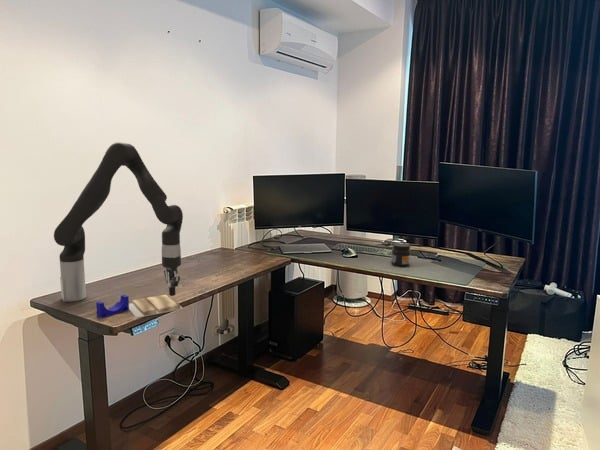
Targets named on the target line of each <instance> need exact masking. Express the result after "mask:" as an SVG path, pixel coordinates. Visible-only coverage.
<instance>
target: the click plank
mask: <svg viewBox="0 0 600 450" xmlns="http://www.w3.org/2000/svg"><path fill="white" fill-rule="evenodd" d="M145 299H146V300H147V301H148V302H149V303H150V304H151V305H152V306H153V307H155V308H156V311H157V312H158V313H159V312H165V311H170V310H175V309H180V306H181V304H180V303H179V302H177V301H175V299H174V298H172V296H170V295H169V294H160V295H154V296H149V297H146V298H145Z"/></svg>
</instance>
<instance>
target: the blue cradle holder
mask: <svg viewBox="0 0 600 450" xmlns="http://www.w3.org/2000/svg"><path fill="white" fill-rule="evenodd" d="M129 304H130V303H129V295H126V294H122V295H120V299H119V301H117V302H116V303H115V304H114V305H112V306H111V307H109V308H108V309H107V307H106V306H105V302H103V301H96V302H95V305H96V306H95V307H96V317H97V318H99V319H102V318H106V317H111V316H113V315H117V314H119V313H124V312H127V311H130V310H129Z"/></svg>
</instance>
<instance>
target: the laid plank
mask: <svg viewBox="0 0 600 450" xmlns="http://www.w3.org/2000/svg"><path fill="white" fill-rule="evenodd" d="M131 301H132V302H131V303H133V305H134V306H135V307H136V308H137V309H138V310H139V311H140V312H141V313H142V314H143V315H149V314H154V313H157V312H156V308H155V307H153V306H152V305H151V304H150V303H149V302H148V301H147V300H146V298H145V297H142V298H137V299H132V300H131Z"/></svg>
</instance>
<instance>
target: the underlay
mask: <svg viewBox="0 0 600 450" xmlns="http://www.w3.org/2000/svg"><path fill="white" fill-rule="evenodd" d="M180 310H184V307H183V306H181V305H180V309H175V310H170V311H165V312H159V313H158V312H157V311H156V312H157V313H154V314H149V315H143V314H142V313H141V312H140V311H139V310H138V309H137V308H136V307H135V306H134V305H133V303H132V302H131V303H129V310H128V311H129V312H131V314H132V315H133V316H134V317H135V318H136V319H138V318H139V319H140V318H145V317H150V316H155V315H159V314H164V313H169V312H175V311H180Z"/></svg>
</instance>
